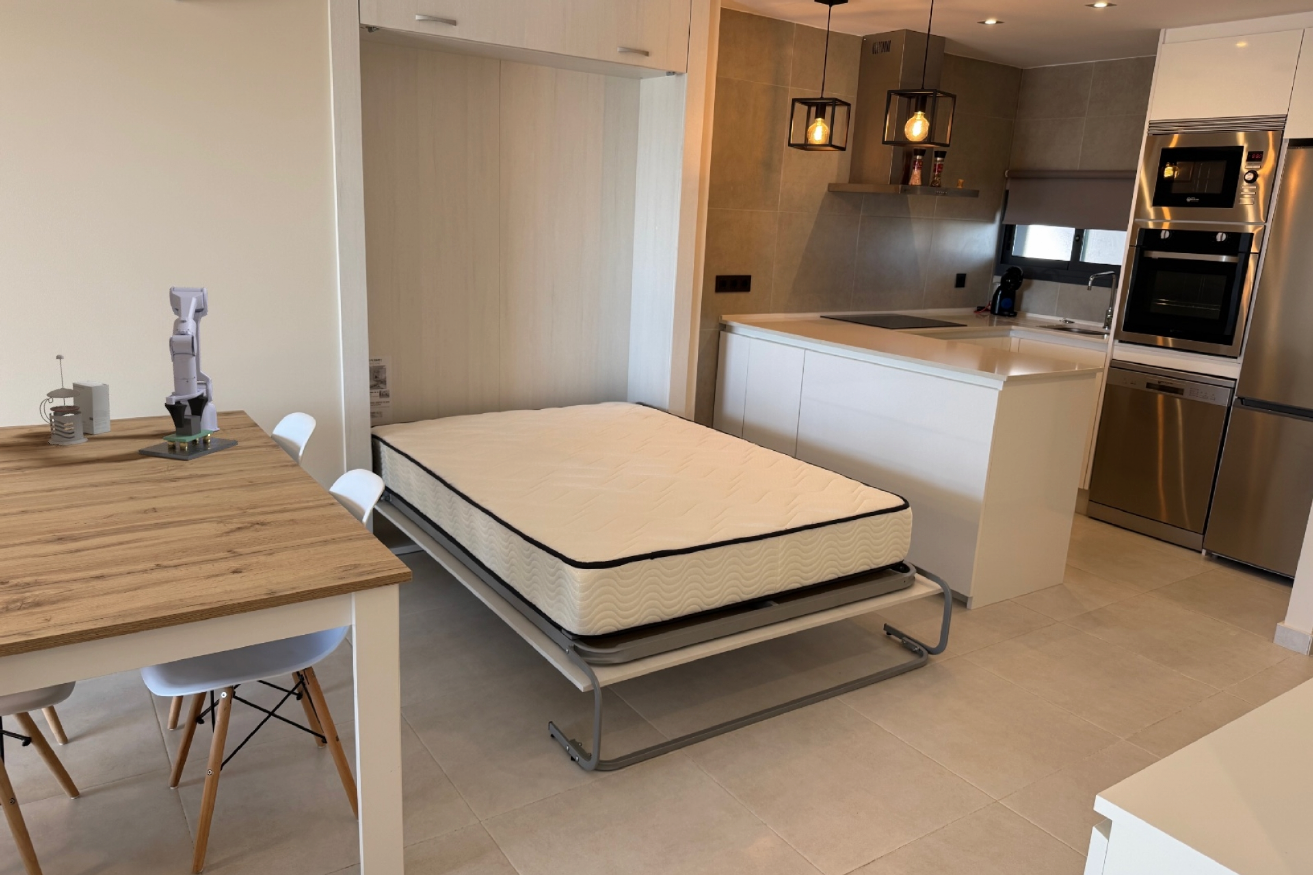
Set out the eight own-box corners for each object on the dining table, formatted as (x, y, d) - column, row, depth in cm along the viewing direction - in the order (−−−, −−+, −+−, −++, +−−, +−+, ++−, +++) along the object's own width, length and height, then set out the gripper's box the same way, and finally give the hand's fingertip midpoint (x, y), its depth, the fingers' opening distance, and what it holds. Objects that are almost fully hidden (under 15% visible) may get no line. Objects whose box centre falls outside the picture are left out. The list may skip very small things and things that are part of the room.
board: (191, 430, 262) (189, 411, 261) (213, 433, 262) (212, 413, 260) (163, 440, 251) (161, 419, 250) (186, 442, 250) (184, 421, 249)
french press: (73, 445, 253) (65, 358, 248) (32, 443, 254) (23, 355, 248) (95, 438, 263) (88, 353, 257) (56, 435, 263) (47, 350, 257)
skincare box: (74, 431, 269) (69, 382, 265) (92, 427, 274) (88, 379, 271) (94, 435, 266) (90, 385, 263) (113, 431, 272) (109, 382, 268)
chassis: (191, 438, 268) (190, 426, 267) (237, 444, 265) (237, 432, 264) (138, 453, 249) (137, 440, 248) (188, 460, 246) (187, 447, 245)
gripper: (188, 372, 260) (191, 418, 263) (154, 380, 246) (158, 428, 249) (211, 374, 259) (214, 420, 262) (178, 382, 245) (181, 431, 248)
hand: (188, 424), depth 255 cm, fingers open, 7 cm apart
